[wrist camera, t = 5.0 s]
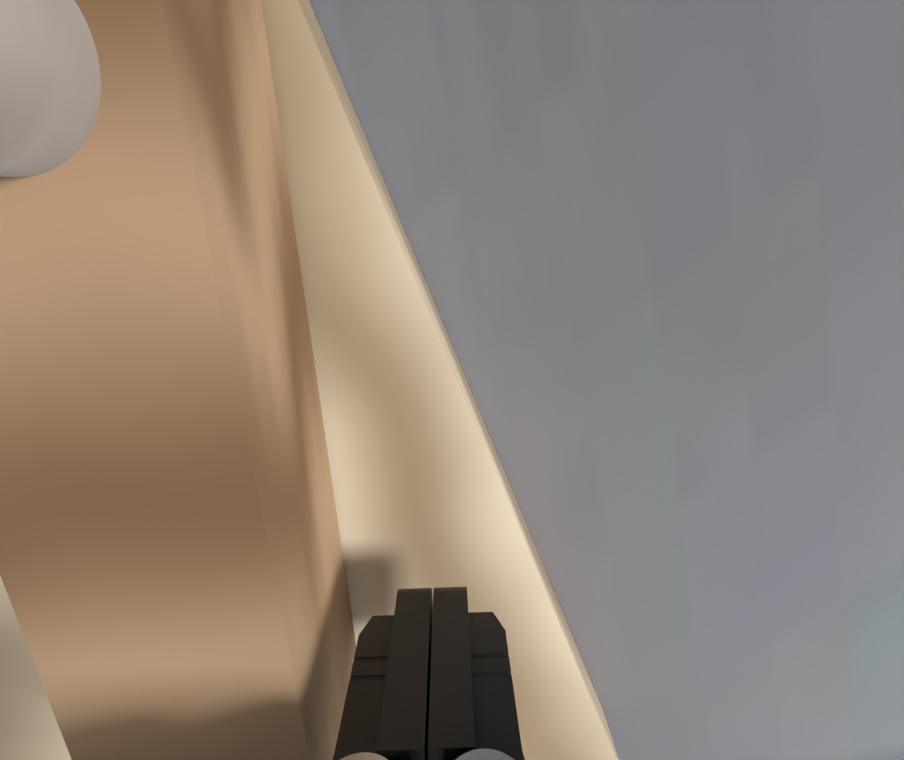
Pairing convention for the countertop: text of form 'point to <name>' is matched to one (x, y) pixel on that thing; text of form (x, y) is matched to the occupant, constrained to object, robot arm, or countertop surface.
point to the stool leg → (162, 390)
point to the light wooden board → (382, 429)
